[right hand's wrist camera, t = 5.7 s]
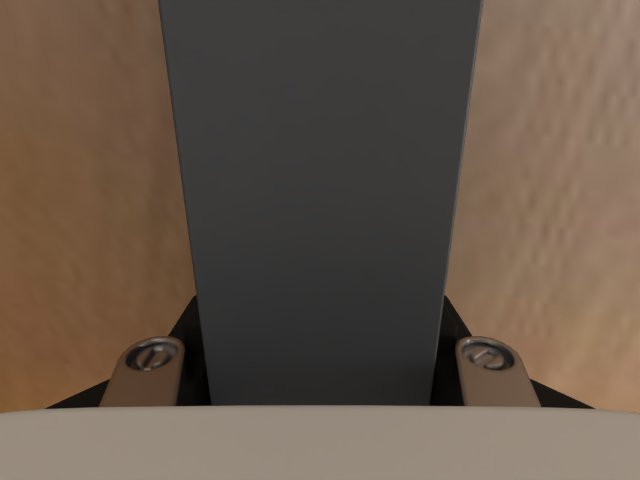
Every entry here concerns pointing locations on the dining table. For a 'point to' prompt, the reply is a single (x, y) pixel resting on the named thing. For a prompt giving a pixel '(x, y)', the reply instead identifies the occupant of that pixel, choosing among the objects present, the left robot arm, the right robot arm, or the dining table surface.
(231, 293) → the post
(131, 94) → the dining table surface
